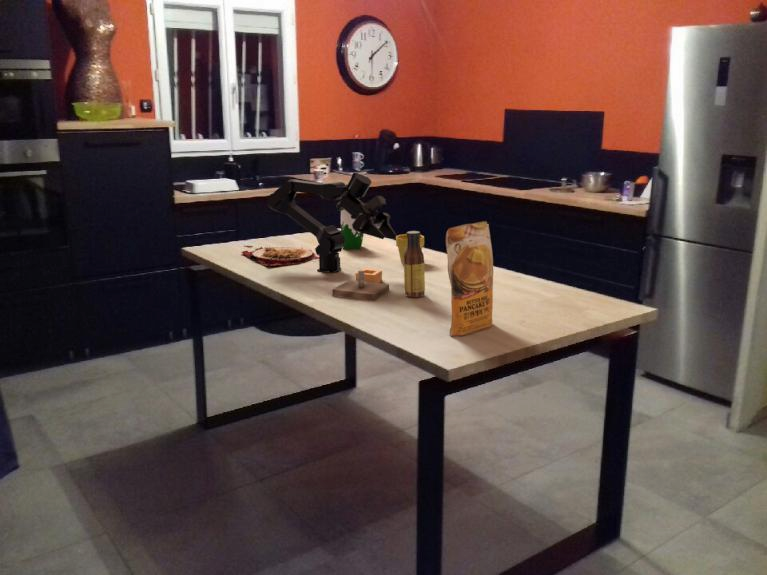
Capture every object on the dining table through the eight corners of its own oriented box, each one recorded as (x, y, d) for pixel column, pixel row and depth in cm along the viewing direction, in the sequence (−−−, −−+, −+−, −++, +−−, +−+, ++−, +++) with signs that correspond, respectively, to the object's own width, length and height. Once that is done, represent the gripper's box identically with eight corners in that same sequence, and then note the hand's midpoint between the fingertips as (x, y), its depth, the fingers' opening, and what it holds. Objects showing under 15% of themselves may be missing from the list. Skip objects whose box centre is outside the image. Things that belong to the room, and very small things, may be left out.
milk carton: (342, 245, 285) (341, 196, 279) (364, 245, 284) (363, 196, 279) (340, 250, 276) (339, 199, 271) (363, 250, 276) (363, 199, 271)
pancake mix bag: (434, 333, 181) (437, 226, 173) (483, 318, 193) (487, 218, 185) (453, 340, 176) (456, 230, 168) (502, 324, 188) (507, 222, 180)
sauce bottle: (427, 293, 216) (428, 230, 211) (421, 299, 211) (422, 234, 205) (406, 291, 218) (407, 229, 213) (400, 297, 213) (401, 233, 207)
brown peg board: (332, 295, 214) (332, 273, 212) (348, 286, 225) (348, 264, 223) (374, 300, 209) (374, 278, 207) (389, 290, 220) (389, 269, 218)
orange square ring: (355, 283, 228) (355, 273, 227) (363, 278, 234) (363, 268, 233) (374, 285, 225) (374, 275, 224) (381, 280, 231) (382, 270, 230)
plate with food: (268, 270, 247) (268, 261, 246) (240, 254, 268) (239, 245, 267) (329, 263, 260) (329, 253, 259) (298, 248, 281) (298, 239, 280)
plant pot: (390, 261, 258) (390, 235, 255) (414, 258, 263) (414, 232, 260) (405, 267, 249) (405, 240, 247) (429, 264, 254) (429, 237, 252)
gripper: (356, 188, 221) (391, 218, 217) (381, 189, 238) (415, 217, 234) (337, 216, 225) (372, 246, 221) (364, 215, 242) (396, 243, 238)
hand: (389, 237), depth 228 cm, fingers open, 9 cm apart
